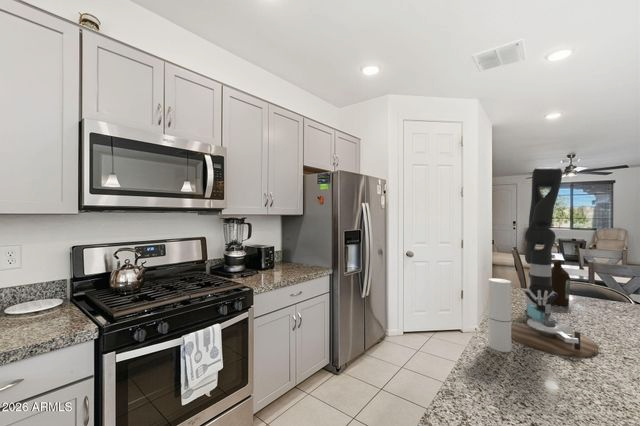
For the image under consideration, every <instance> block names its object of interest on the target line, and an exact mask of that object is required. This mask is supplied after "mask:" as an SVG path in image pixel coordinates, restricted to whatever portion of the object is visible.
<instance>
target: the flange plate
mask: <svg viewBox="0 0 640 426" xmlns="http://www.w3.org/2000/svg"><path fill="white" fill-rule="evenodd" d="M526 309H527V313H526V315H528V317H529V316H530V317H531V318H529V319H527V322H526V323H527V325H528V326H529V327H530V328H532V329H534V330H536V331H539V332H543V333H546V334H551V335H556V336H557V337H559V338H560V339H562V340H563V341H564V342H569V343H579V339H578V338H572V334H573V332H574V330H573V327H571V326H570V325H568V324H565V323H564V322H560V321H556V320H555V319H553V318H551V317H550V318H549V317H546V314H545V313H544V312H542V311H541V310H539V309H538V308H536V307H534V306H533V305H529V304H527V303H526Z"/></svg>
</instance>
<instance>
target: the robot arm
mask: <svg viewBox="0 0 640 426" xmlns="http://www.w3.org/2000/svg"><path fill="white" fill-rule="evenodd" d="M562 179H563V170H562V168H560V167H535V168H534V169H533V172H532V175H531V198H530V199H531V201H530V208H529V216H528V228H527V229H526V231H525V234H524V240H525V241H526V246H525V252H524V260H525V263H526V264H528V265H529V272H528V289H525V290H523V294H525V296H526V305H527V304H529V305H533V306H534V307H536V308H538V309H539V310H541V311H542V312H544V313H545V315H546V314H548V315H549V314H551V313H552V305H551V303H552V302H553V301H554V300H555V299H556V298H557V297H558V296H559V294H557V293H555V292H554V291H553V289H552V287H551V286H552V280H551V268H552V259H553V258H552V257H553V254H552V250H553V246H554V244H555V240H556V233H555V232H554V230H552V229H550V228H551V227H552V225H553V217H554V210H555V205H556V201H557V198H558V196H559V192H560V188H561V184H562ZM541 188H550V190H549V191H548V192H547V194H546V195H545V196H543V193H542V192H541ZM537 245H538V246H537ZM539 245H540V246H541V247H539ZM542 246H543V247H542Z"/></svg>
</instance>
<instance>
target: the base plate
mask: <svg viewBox="0 0 640 426" xmlns="http://www.w3.org/2000/svg"><path fill="white" fill-rule="evenodd" d="M572 338H578V339H579V343H569V342H564V341H563V340H562V339H560V338H559V337H557V336H556V335H551V334H546V333H543V332H539V331H536V330H534V329H532V328H530V327H529V326H528V325H527V322H517V323H511V340H512V339H513V340H514V341H515V342H517V343H520V344H522V345H524V346H526V347H528V348H532V349H534V350H537V351H541V352H544V353H549V354H553V355H556V356H557V355H558V356H564V357H572V358H590V357H594V356H597V355H598V353H599V345H598V344H597V343H596V342H595V341H594V340H592V339H590V338H588V337H586V336H585V335H583V334H581V332H580V331H576V330H575V331H574V330H573V334H572Z"/></svg>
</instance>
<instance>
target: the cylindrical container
mask: <svg viewBox="0 0 640 426" xmlns="http://www.w3.org/2000/svg"><path fill="white" fill-rule="evenodd" d="M511 324H512V281H511V280H509V279H505V278H493V277H492V278H488V346H489V348H490V349H492V350H495V351H498V352H501V353H502V352H503V353H508V352H509V353H510V352H511V351H512V338H511Z"/></svg>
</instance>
